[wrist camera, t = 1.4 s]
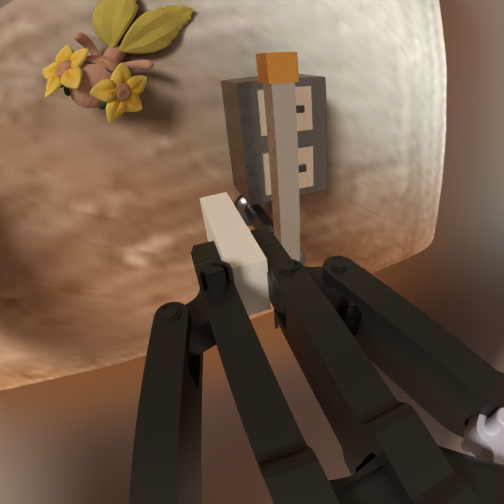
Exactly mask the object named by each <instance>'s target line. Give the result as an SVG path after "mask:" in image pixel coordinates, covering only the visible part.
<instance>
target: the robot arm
mask: <svg viewBox="0 0 504 504" xmlns="http://www.w3.org/2000/svg"><path fill="white" fill-rule="evenodd" d="M200 202H201V207H202V213H203V218H204V223H205V228H206V233H207V238H208V241H209V242H206V243H202V244H198V245H194V246H193V249H192V251H191V255H192V259H193V263H194V267H195V271H196V274H197V278H198V282H199V286H200V291H199V294H198V295H197V297H196V298H195V299H194V300H192V301H191V302H189V303H188V304H186V305H184V304H182V303H180V302H170V303H166V304H164V305H163V306H161V307H160V308H159V309H158V310H157V311H156V313H155V315H154V319H153V324H152V329H151V335H150V340H149V345H148V351H147V356H146V362H145V368H144V374H143V380H142V386H141V393H140V400H139V407H138V414H137V422H136V430H135V439H134V447H133V457H132V468H131V480H130V496H129V504H202V487H201V417H202V416H201V415H202V414H201V413H202V374H203V352H204V351H206V350H208V349H209V348H211V347H213V346H214V345H217V348H218V351H219V354H220V357H221V361H222V364H223V367H224V369H225V373H226V376H227V379H228V382H229V385H230V388H231V391H232V394H233V397H234V400H235V403H236V406H237V409H238V412H239V415H240V417H241V420H242V423H243V426H244V429H245V432H246V434H247V437H248V439H249V443H250V445H251V448H252V451H253V453H254V456H255V459H256V461H257V464H258V466H259V469H260V471H261V474H262V477H263V479H264V482H265V484H266V487H267V489H268V491H269V494H270V497H271V499H272V502H273V504H504V373H502V372H500V371H497V370H495V369H494V368H493V367H492V366H491V365H489V364H488V363H487V362H486V361H485V360H483V359H482V358H481V357H480V356H478V355H477V354H476V353H475V352H474V351H472V350H471V349H470V348H469V347H467V346H466V345H465V344H464V343H462V342H461V341H459V340H458V339H457V338H456V337H455V336H453V335H452V334H451V333H450V332H448V331H447V330H446V329H444V328H443V327H442V326H440V325H439V324H438V323H437V322H435V321H434V320H433V319H431V318H430V317H429V316H428V315H426V314H425V313H423V312H422V311H421V310H419V309H418V308H417V307H416V306H414V305H413V304H412V303H410V302H409V301H408V300H406V299H405V298H403V297H402V296H401V295H399V294H398V293H397V292H395V291H394V290H393V289H391V288H390V287H388V286H387V285H385V284H384V283H383V282H381V281H380V280H379V279H377V278H376V277H374V276H373V275H372V274H370V273H369V272H367V271H366V270H365V269H363V268H362V267H360V266H359V265H358V264H356V263H355V262H353V261H352V260H350V259H348V258H346V257H343V256H333V257H330V258H328V259H326V260H325V262H324V264H323V267H304V265H303V264H302V263H301V262H299V261H297V260H295V259H291V257H290V256H289V254H288V253H287V252H286V250H285V249H284V247H283V246H282V245H281V243H280V242H279V240H278V239H277V238H276V236H275V235H274V233H273V232H272V231H270V230H269V229H267V228H265V227H263V228H259V229H255V230H251V231H250V230H249V229H248V227H247V225H246V224H245V222H244V220H243V219H242V217H241V215H240V214H239V212H238V210H237V209H236V207H235V205H234V204H233V202H232V201H231V199H230V197H229V196H228V194H227V192H225V193H220V194H216V195H212V196H207V197H203V198H200ZM270 301H271V303H272V305H273V307H274V319H275V328H276V329H277V328H278V324H279V326H280V328H281V330H282V332H283V334H284V336H285V338H286V340H287V342H288V344H289V346H290V348H291V350H292V352H293V353H294V356H295V358H296V360H297V361H298V363H299V365H300V367H301V369H302V371H303V373H304V375H305V377H306V379H307V381H308V383H309V385H310V387H311V389H312V391H313V393H314V394H315V396H316V399H317V400H318V402H319V404H320V406H321V408H322V410H323V412H324V414H325V416H326V418H327V420H328V422H329V424H330V425H331V428H332V429H333V431H334V433H335V435H336V437H337V439H338V441H339V443H340V445H341V447H342V449H343V455H344V460H345V463H346V465H347V467H348V469H349V471H350V473H351V475H352V476H349V477H345V478H340V479H335V480H330V481H328V479H327V477H326V475H325V473H324V470H323V468H322V466H321V464H320V462H319V460H318V458H317V457H316V455H315V453H314V452H313V450H312V449H311V448H310V447H309V446H308V445H307V444H306V442H305V440H304V438H303V436H302V434H301V432H300V430H299V428H298V426H297V423H296V421H295V419H294V417H293V415H292V413H291V410H290V408H289V406H288V404H287V402H286V399H285V397H284V395H283V393H282V391H281V389H280V386H279V384H278V382H277V380H276V377H275V375H274V373H273V371H272V369H271V366H270V364H269V362H268V360H267V357H266V355H265V353H264V351H263V348H262V346H261V344H260V342H259V339H258V337H257V335H256V333H255V330H254V328H253V325H252V323H251V321H250V319H249V316H248V315H251V314H255V313H258V312H261V311H265V310H268V309H271V307H270ZM370 360H371V361H372V362H373V363H374V364H375V365H376V366H377V367H378V368H380V369H381V370H382V371H383V372H384V373H385V374H386V375H387V376H388V377H389V378H390V379H392V380H393V381H394V382H395V383H396V384H397V385H398V386H399V387H400V388H402V389H403V390H404V391H405V392H406V393H407V394H408V395H409V396H410V397H411V398H412V399H413V400H415V401H416V402H417V403H418V404H419V405H420V406H421V407H422V408H423V409H425V410H426V411H427V412H428V413H429V414H430V415H431V416H432V417H433V418H434V419H436V420H437V421H438V422H439V423H440V424H441V425H443V426H444V427H445V428H446V429H448V430H450V431H451V432H453V433H455V434H457V435H459V436H461V437H463V441H462V443H461V447H462V449H463V450H464V451H465V452H472V453H473V454H474V455H475V456H476V457H473V456H469V455H466V454H463V453H459V452H456V451H453V450H450V449H447V448H444V447H441V446H438V445H437V443H436V442H435V440H434V439H433V437H432V435H431V434H430V432H429V431H428V429H427V428H426V426H425V425H424V423H423V422H422V420H421V419H420V417H419V416H418V414H417V413H416V411H415V410H414V409H413V407H412V406H411V405H409V404H408V403H405V402H399V401H398V400H397V399H396V398H395V397H394V395H393V394H392V392H391V391H390V389H389V388H388V386H387V385H386V383H385V382H384V380H383V379H382V377H381V376H380V374H379V373H378V371H377V370H376V368H375V367H374V366H373V364H372V362H371V361H370Z"/></svg>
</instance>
